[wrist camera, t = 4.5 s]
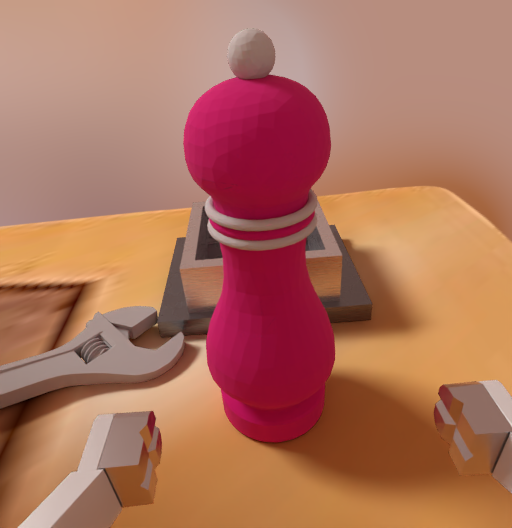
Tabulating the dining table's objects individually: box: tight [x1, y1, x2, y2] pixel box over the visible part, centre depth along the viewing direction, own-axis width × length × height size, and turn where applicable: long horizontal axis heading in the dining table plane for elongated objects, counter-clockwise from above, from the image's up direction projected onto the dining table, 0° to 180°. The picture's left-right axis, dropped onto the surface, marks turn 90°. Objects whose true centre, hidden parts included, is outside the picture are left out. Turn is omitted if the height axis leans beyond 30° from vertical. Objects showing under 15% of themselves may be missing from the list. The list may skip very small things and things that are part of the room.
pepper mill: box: [183, 28, 335, 442], centre depth 20 cm, size 7×7×20 cm
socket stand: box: [157, 200, 372, 337], centre depth 35 cm, size 16×13×6 cm
